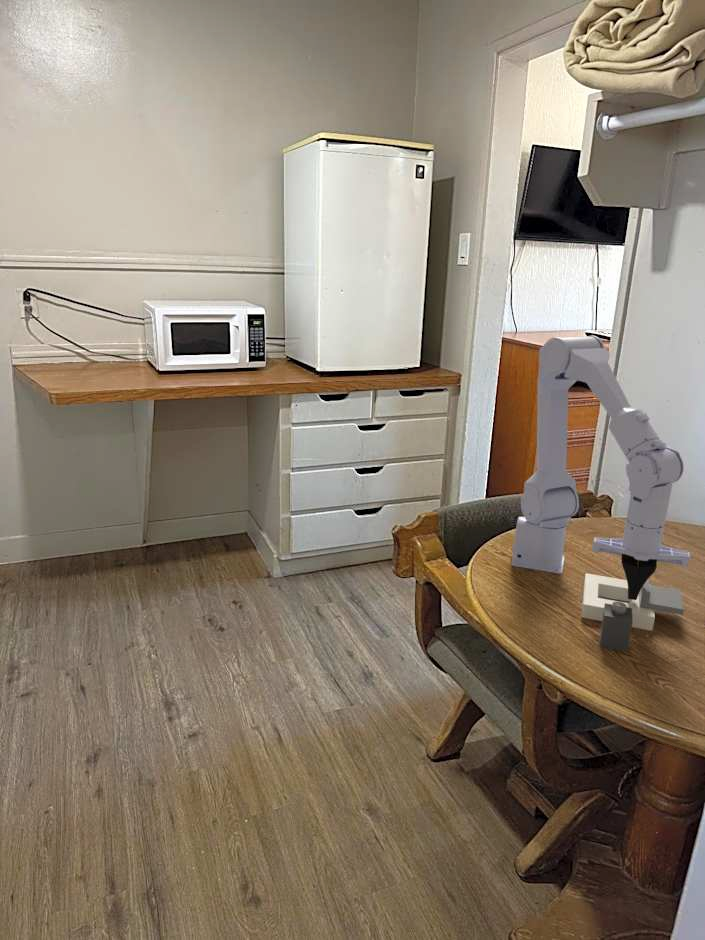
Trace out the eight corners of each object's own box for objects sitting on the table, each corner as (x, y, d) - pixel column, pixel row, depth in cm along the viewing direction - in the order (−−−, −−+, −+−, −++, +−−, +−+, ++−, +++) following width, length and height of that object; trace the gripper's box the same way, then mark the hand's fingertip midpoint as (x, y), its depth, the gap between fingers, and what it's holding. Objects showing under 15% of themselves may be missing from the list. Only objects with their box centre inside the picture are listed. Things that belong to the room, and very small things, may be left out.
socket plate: (581, 617, 112) (583, 604, 112) (583, 585, 123) (585, 573, 122) (652, 630, 109) (654, 617, 108) (648, 596, 120) (650, 584, 119)
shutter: (639, 607, 111) (642, 590, 110) (638, 588, 117) (640, 572, 116) (682, 614, 109) (686, 598, 108) (678, 595, 115) (681, 579, 114)
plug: (599, 646, 104) (605, 608, 102) (599, 633, 108) (605, 596, 106) (627, 652, 103) (633, 613, 101) (626, 638, 107) (633, 601, 105)
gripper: (597, 523, 107) (585, 599, 111) (697, 538, 102) (681, 617, 107) (598, 508, 113) (587, 580, 118) (692, 521, 109) (677, 596, 113)
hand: (632, 596), depth 113 cm, fingers closed
